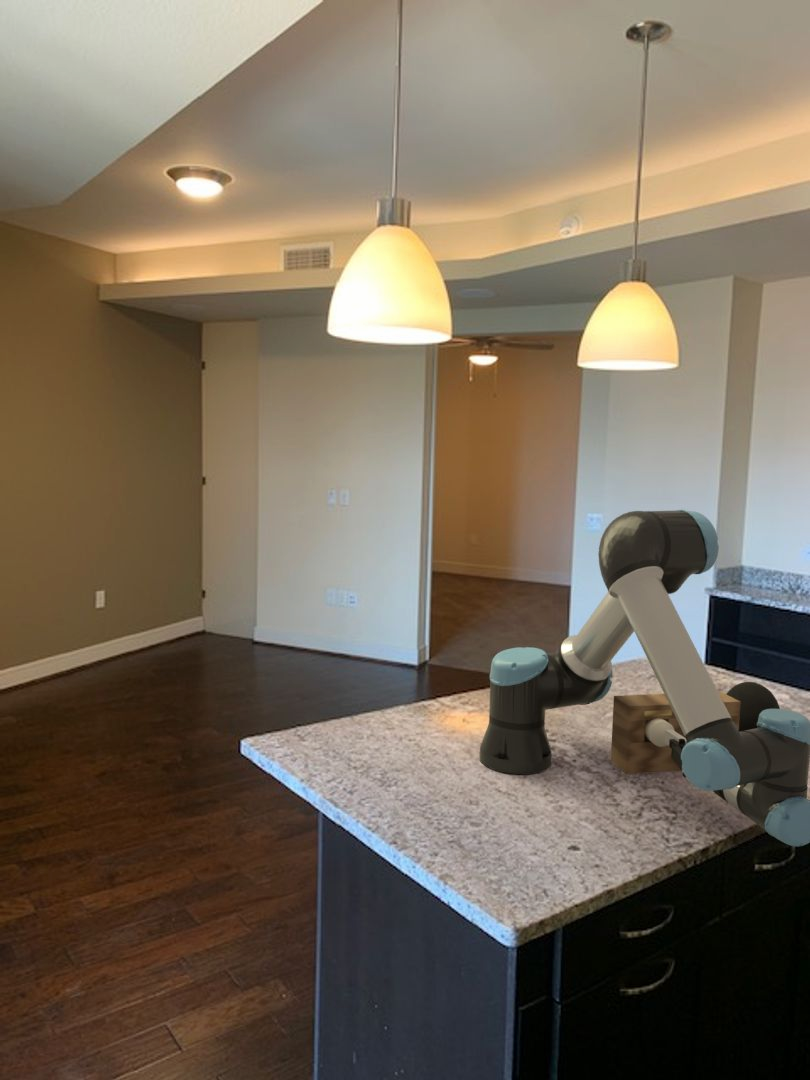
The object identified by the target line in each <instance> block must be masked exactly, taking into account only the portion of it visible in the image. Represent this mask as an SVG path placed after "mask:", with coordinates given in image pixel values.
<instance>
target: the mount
mask: <svg viewBox="0 0 810 1080" xmlns="http://www.w3.org/2000/svg"><path fill="white" fill-rule="evenodd" d="M718 693H719V695H720V697H721V699H722V701H723V703H724V705H725V707H726V709H727V710H728V712H729V714H730V716H731V718H732V720H733V722H734V723H735V725H736V727H737V729H738V731H739V718H740V704H741V702H740V701H738V700H736V699H734V698H733V697H731V696H729V695H727V693H724V692H722V691H718ZM612 708H613V710H612V725H611V744H610V745H611V747H610V762H611V763H613V764H614V766H616V767H617V768H618V769H619V770H620V771H622V772H623V773H624V774H625V775H633V774H652V773H653V774H654V773H666V772H682V771H681V769H680V768H679V767H678V766H677V764H676V763H675V762H674V760H673V759H672V758H671V752H672V749H671V748H670V747H669V746H668V745H667V746H665V747H659V746H656V745H655V744H653V743H652V742H651V741H649V740H648V739H647V737H646V735H645V720H652V719H655V718H661V719H664V720H665V721H667V722H668V723H670V724H671V725H672V726H673V728H674V731H675V732H677V733H678V734H680V735H681V736H683V737H684V738H685V735H684V733H683V731H682V729H681V727H680V725H679V723H678V721H677V719H676V717H675V715H674V713H673V710H672V708H671V706H670V704H669V702H668V700H667V698H666V696H665V694H664V693H653V694H631V695H630V694H629V695H628V694H627V695H626V694H625V695H624V694H623V695H614V696H613V707H612Z"/></svg>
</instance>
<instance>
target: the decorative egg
mask: <svg viewBox="0 0 810 1080" xmlns="http://www.w3.org/2000/svg"><path fill="white" fill-rule="evenodd" d="M726 694H727V695H729V696H731V697H733V698H734V699H736V700H738V701H740V702H741V704H740V718H739V731H745V730H750V729H755V728H757V722H758V718H759V714H760V713H761V712H762V711H763V710H766V709H781V708H780V705H779V703H778V700H777V698H776V697H775V696H774V694H773V693H772V691H771V690H769V689H768V688H767V687H766V686H764V685H762V684H760V683H758V682H754V681H743V682H740V683H737V684H735V685H734V686H732V687H731V688H730V689H729V690H728V691H727V692H726Z"/></svg>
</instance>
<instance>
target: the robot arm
mask: <svg viewBox="0 0 810 1080" xmlns="http://www.w3.org/2000/svg"><path fill="white" fill-rule="evenodd" d="M603 531H604V532H603V533H602V535H601V538H600V541H599V544H598V545H599V546H598V554H597V555H598V564H599V571H600V574H601V578H602V581H603V583H604V585H605V587H606V590H607V593H606V594H605V595H604V597H603V598H602V600H601V601H600V602H599V604H598V605H597V606H596V608H595V609H594V611H593V612H592V614H591V615H590V616H589V617H588V619H587V621H585V624H583V626H582V628H581V629H580V630H579V632H578V633H577V634H576V635H575V634H574V635H570V636H567V637H566V638H565V639H564V640H563V641H562V643H561V644H560V646H559V647H558V649H556V651H554V652H549V653H547V652H546V651H544V650H543V649H541V648H538V647H532V646H530V647H529V646H526V647H521V646H520V647H512V648H508V649H504V650H502V651H499V652H498V653H497V654H495V656H494V657H493V658H492V660H491V664H490V673H489V680H490V683H489V709H488V710H489V711H488V712H489V715H488V718H489V719H488V724H487V728H486V730H485V733H484V736H483V738H482V740H481V743H480V746H479V761H480V763H481V764H483V765H484V766H485V767H487V768H488V769H492V770H494V771H498V772H502V773H506V774H514V775H515V774H516V775H529V774H530V775H531V774H537V773H540V772H541V773H542V772H544V771H547V770H548V769H549V768H551V766H552V760H553V759H552V758H553V753H552V749H551V746H550V741H549V738H548V735H547V731H546V726H545V725H546V711H547V710H553V709H559V708H565V707H566V708H567V707H571V706H583V705H584V706H585V705H586V706H587V705H591V704H593V703H596V702H598V701H600V700H602V699H604V697H606V696H607V695H608V693H609V691H610V689H611V688H612V683H613V681H612V680H611V678H613V676H614V675H613V672H614V671H613V664H612V660H613V659H614V657H615V656H616V655H617V654H618V652H619V651H620V650H621V648H623V646H624V645H625V643H626V642H627V641H628V640H629V638H630V637H631V636H632V635H633V633H635V635H636V638H637V640H638V642H639V644H640V646H641V648H642V650H643V653H644V654H645V657H646V658H647V661H648V663H649V664H650V666H651V668H652V671H653V673H654V675H655V678H656V679H657V681H658V683H659V685H660V688H661V690H662V692H663V694H665V696H666V698H667V700H668V702H669V704H670V706H671V708H672V710H673V713H674V715H675V717H676V719H677V721H678V723H679V725H680V727H681V729H682V731H683V733H684V735H685V738H684V737H683V736H681V735H680V734H678V733H677V732H675V731H674V730H672V729H670V730H665V742H664V743H665V744H667V745H668V746H669V747H670V748H671V749H672V752H671V758H672V759H673V760H674V762H675V763H676V764H677V766H678V767H679V768H680V769H681V771H680V772H681V776H682V777H683V778H686V779H687V780H688V781H689V783H690V784H691V785H692V786H694V788H697V789H698V790H701V791H704V792H713V793H714V794H715V795H717V796H718V797H719V798H720V799H722V800H723V801H724V802H726V803H727V804H730V806H732V807H733V808H735V809H737V810H738V811H739V812H740V813H742V814H743V815H744V816H746V817H747V818H748V819H749V820H751V821H752V822H753V823H755V824H756V825H757V826H759V827H760V828H761V829H763V830H764V831H765V832H766V833H768V835H770V836H771V837H774V838H775V839H777V840H778V841H780V842H782V843H784V844H786V845H788V846H790V847H791V846H792V847H803V846H805V845H808V844H809V843H810V799H808V789H809V786H808V781H809V780H808V779H809V770H810V769H809V768H810V719H809V718H807V717H806V716H805V715H804V714H802V713H799V712H797V711H793V710H788V709H782V708H780V709H766V710H763V711H762V712H761V713H760V714H759V718H758V722H757V728H755V729H750V730H745V731H738V729H737V727H736V725H735V723H734V722H733V720H732V718H731V716H730V714H729V712H728V710H727V709H726V707H725V705H724V703H723V701H722V699H721V697H720V695H719V693H718V692H719V691H718V689H717V687H716V685H715V683H714V682H713V679H712V677H711V676H710V674H709V672H708V670H707V667H706V666H705V664H704V662H703V660H702V658H701V656H700V654H699V652H698V650H697V647H696V646H695V644H694V642H693V640H692V638H691V636H690V635H689V634H690V633H688V631H687V628H686V627H685V624H684V622H683V621H682V619H681V617H680V614H679V613H678V611H677V609H676V607H675V605H674V603H673V601H672V599H671V596H669V595H673V594H675V593H676V592H678V590H679V589H681V587H682V586H683V584H684V583H685V582H686V581H687V579H688V578H690V576H692V575H701V574H703V573H706V572H707V571H710V570H711V568H713V566H714V565H715V563H716V561H717V559H718V556H719V548H720V546H719V544H718V540H719V537H718V533H717V531H716V529H715V526H714V525H713V523H712V522H711V521H710V519H708V518H707V517H706V516H705V515H704V514H702V513H700V512H698V511H692V510H686V509H677V510H648V511H647V510H646V511H645V510H633V511H628V512H626V513H623V514H621V515H619V516H617V517H616V518H614V519H613V520H612V521H611V522H610V523H609V524H608V525H607V526H606V528H605V530H603Z"/></svg>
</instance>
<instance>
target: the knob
mask: <svg viewBox="0 0 810 1080" xmlns="http://www.w3.org/2000/svg"><path fill="white" fill-rule="evenodd" d="M670 729H672V730H674V728H673V726H672V725H671V724H670V723H668V722H667V721H665V720H664V719H661V718H655V719H652V720H645V735H646V737H647V739H648V740H649V741H651V742H652V743H653V744H655V745H656V746H659V747H665V746H667V744H665V743H664V742H665V730H670Z"/></svg>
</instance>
